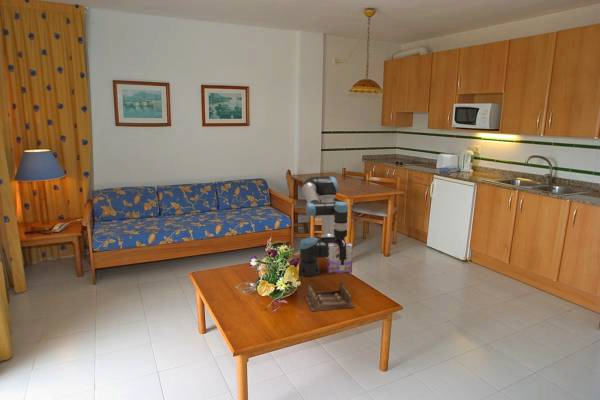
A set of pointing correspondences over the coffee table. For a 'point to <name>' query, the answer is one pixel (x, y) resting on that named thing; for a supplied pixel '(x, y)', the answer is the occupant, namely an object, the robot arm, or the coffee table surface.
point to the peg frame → (329, 299)
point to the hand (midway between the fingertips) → (339, 267)
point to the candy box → (335, 256)
